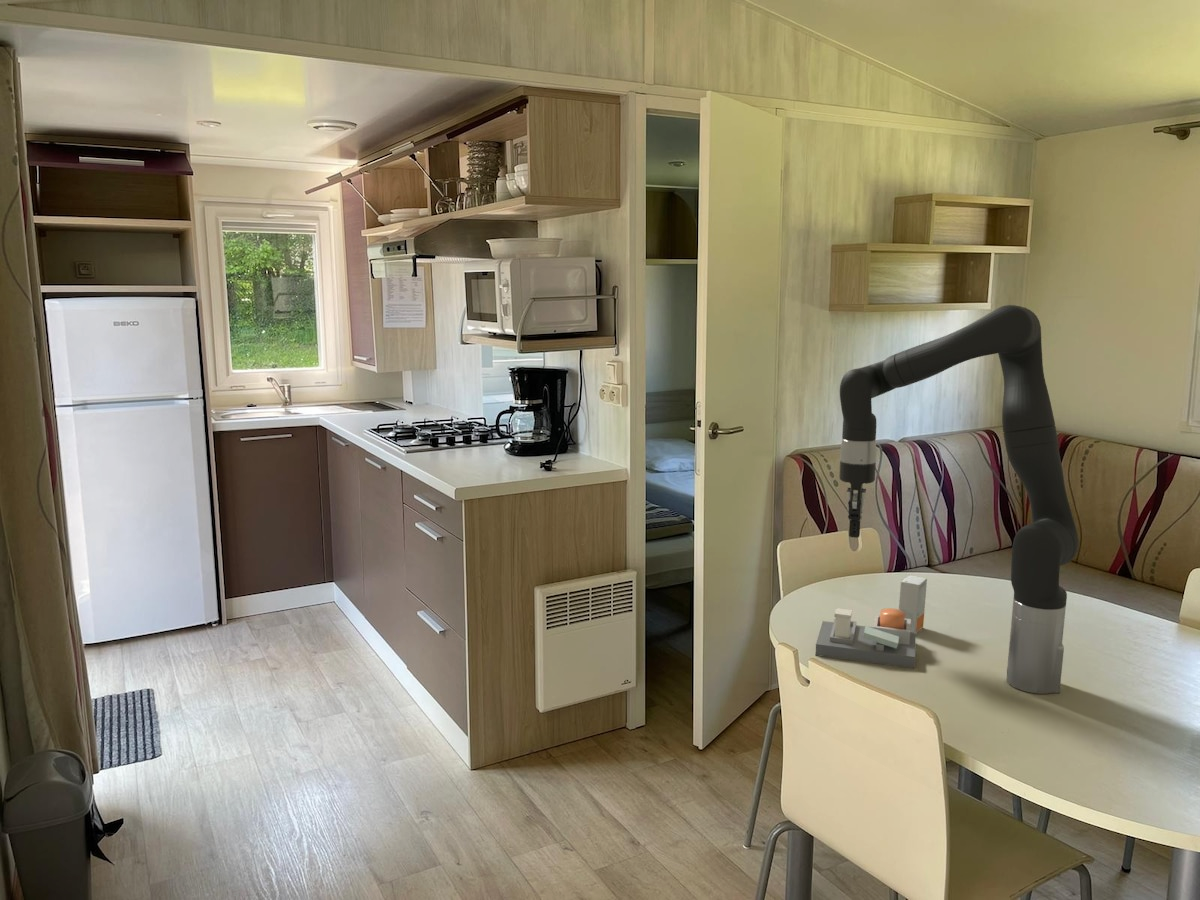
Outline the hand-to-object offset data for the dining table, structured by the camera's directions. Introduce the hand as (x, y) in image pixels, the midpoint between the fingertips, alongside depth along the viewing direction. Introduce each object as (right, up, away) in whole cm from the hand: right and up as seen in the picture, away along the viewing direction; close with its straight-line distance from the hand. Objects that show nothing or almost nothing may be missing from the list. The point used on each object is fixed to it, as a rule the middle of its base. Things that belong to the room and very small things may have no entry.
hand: (854, 536), depth 197 cm
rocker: (+3, -20, -9) cm, 23 cm away
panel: (+2, -24, -3) cm, 24 cm away
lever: (-4, -21, -4) cm, 22 cm away
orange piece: (+7, -21, -3) cm, 22 cm away
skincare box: (+15, -22, +8) cm, 28 cm away
